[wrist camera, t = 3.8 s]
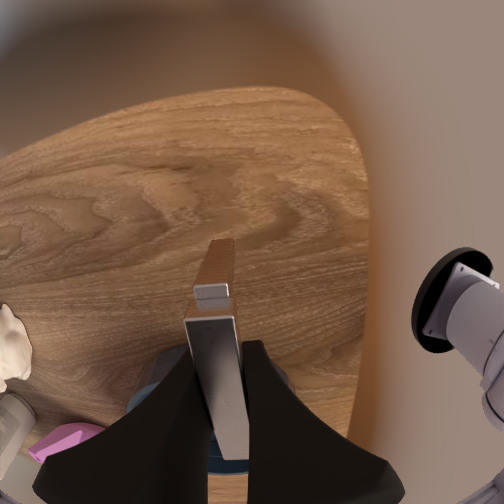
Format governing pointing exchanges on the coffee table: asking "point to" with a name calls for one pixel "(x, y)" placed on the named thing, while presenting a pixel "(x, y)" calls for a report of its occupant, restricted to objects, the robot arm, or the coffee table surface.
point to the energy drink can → (13, 428)
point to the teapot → (63, 439)
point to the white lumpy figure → (13, 348)
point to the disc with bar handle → (219, 349)
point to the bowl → (216, 462)
